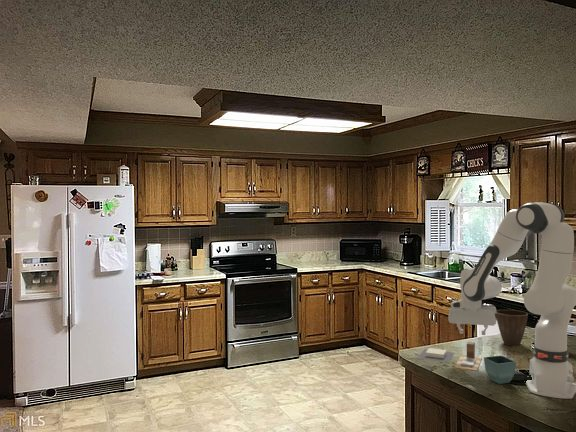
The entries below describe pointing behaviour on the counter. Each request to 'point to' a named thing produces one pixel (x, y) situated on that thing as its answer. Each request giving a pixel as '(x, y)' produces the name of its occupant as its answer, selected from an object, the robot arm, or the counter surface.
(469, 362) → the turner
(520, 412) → the counter surface
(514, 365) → the flower pot
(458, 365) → the board
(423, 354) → the mat
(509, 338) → the plant pot
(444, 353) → the tile
